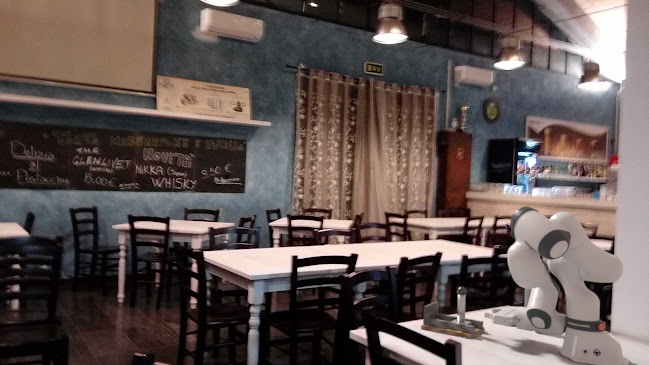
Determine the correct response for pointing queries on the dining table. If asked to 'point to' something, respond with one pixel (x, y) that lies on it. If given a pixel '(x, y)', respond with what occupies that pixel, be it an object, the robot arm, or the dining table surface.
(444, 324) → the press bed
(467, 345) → the dining table surface
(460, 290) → the press sled
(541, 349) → the dining table surface
